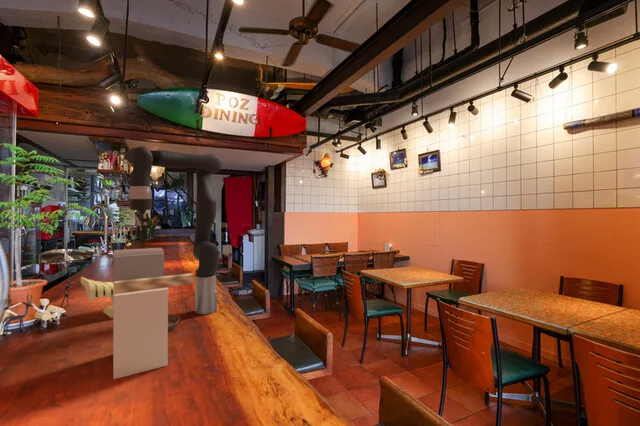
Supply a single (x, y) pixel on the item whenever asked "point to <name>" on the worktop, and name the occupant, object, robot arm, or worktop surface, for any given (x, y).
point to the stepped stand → (139, 314)
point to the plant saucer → (172, 321)
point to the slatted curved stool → (100, 292)
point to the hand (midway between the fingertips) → (142, 238)
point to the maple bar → (152, 283)
